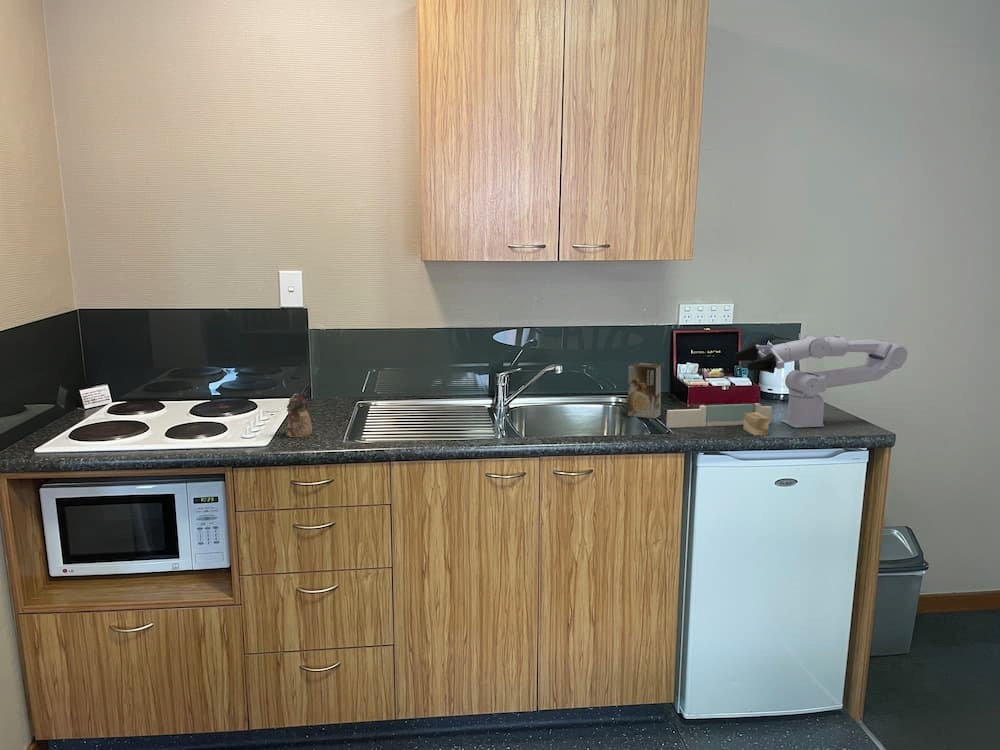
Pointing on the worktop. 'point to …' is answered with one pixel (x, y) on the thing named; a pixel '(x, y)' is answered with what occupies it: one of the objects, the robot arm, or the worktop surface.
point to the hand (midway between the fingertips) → (741, 362)
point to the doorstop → (756, 423)
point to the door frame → (699, 417)
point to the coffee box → (644, 390)
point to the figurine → (298, 417)
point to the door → (728, 411)
